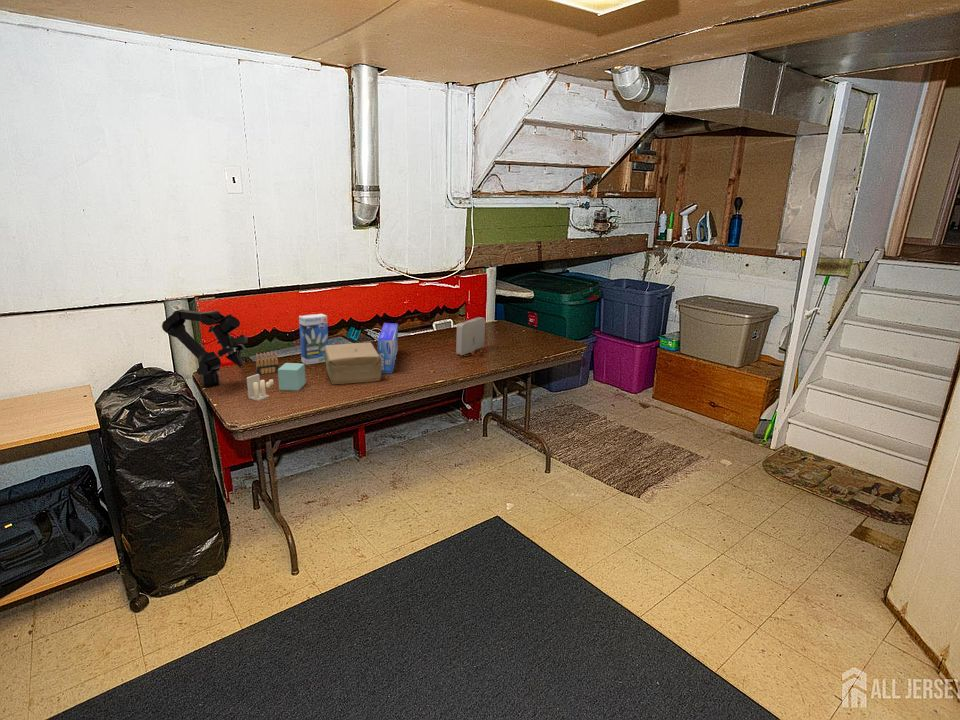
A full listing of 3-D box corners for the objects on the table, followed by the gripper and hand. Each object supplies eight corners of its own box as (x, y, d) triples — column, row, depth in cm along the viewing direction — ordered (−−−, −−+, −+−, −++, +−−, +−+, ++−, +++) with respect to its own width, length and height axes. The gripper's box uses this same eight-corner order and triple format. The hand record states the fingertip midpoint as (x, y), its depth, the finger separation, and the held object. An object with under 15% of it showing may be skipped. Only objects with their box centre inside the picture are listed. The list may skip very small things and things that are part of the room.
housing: (279, 389, 251) (277, 369, 248) (287, 382, 260) (285, 362, 257) (298, 390, 251) (297, 370, 248) (305, 383, 260) (304, 363, 257)
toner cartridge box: (393, 374, 281) (393, 340, 276) (377, 374, 281) (376, 339, 275) (398, 352, 318) (398, 322, 313) (383, 352, 318) (383, 322, 312)
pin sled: (248, 398, 240) (246, 377, 237) (259, 394, 245) (257, 373, 242) (258, 401, 237) (256, 380, 234) (268, 397, 242) (267, 376, 239)
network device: (464, 359, 311) (465, 325, 305) (452, 356, 315) (452, 323, 309) (487, 349, 332) (488, 318, 326) (475, 347, 336) (476, 315, 330)
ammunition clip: (278, 372, 276) (276, 350, 273) (279, 373, 275) (277, 351, 271) (256, 375, 271) (254, 352, 267) (257, 376, 269) (255, 353, 266)
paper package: (324, 369, 285) (323, 343, 281) (373, 366, 293) (373, 341, 289) (328, 386, 261) (327, 358, 257) (382, 382, 269) (381, 355, 265)
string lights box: (306, 365, 289) (303, 318, 282) (300, 361, 295) (297, 315, 287) (329, 361, 298) (327, 315, 290) (323, 357, 303) (321, 312, 296)
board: (257, 389, 253) (256, 383, 252) (263, 384, 259) (263, 378, 258) (282, 390, 252) (282, 384, 252) (288, 385, 259) (287, 379, 258)
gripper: (231, 328, 237) (250, 359, 238) (246, 327, 255) (263, 356, 257) (209, 341, 236) (227, 371, 238) (225, 339, 255) (242, 367, 257)
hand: (241, 366), depth 247 cm, fingers closed
